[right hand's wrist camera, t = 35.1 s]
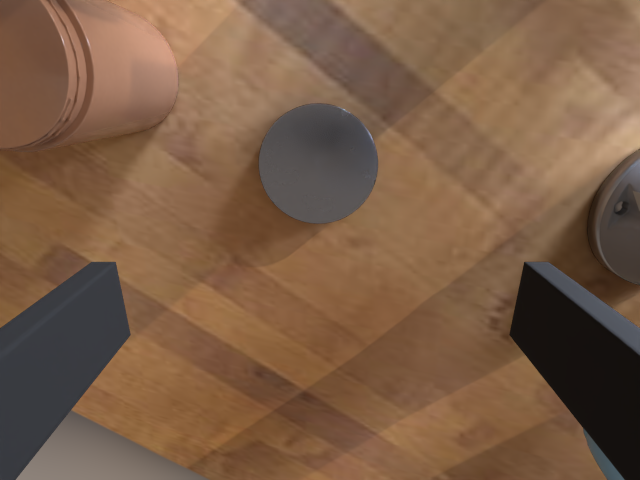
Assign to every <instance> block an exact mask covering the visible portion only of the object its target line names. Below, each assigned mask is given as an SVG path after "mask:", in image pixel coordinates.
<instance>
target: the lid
mask: <svg viewBox="0 0 640 480" xmlns="http://www.w3.org/2000/svg"><path fill="white" fill-rule="evenodd" d="M377 171H378V156H377V150H376V147H375V143H374V141H373V139H372V136H371V135H370V133H369V131H368V130H367V128H366V127H365V126H364V124H363V123H362V122H361V121H360V120H359V119H358V118H356V117H355V116H354V115H352V114H351V113H349V112H348V111H346V110H344V109H342V108H340V107H337V106H334V105H330V104H322V103H315V104H307V105H303V106H300V107H297V108H295V109H293V110H291V111H289V112H287V113H286V114H284V115H283V116H281V117H280V118H279V119H278V120H277V121H276V122H275V123H274V124H273V125H272V127H271V128H270V129H269V131H268V132H267V134H266V136H265V138H264V140H263V142H262V146H261V149H260V154H259V174H260V178H261V182H262V184H263V187H264V189H265V191H266V193H267V195H268V196H269V198H270V199H271V201H272V202H273V203H274V204H275V205H276V206H277V207H278V208H279V209H280V210H281V211H283V212H284V213H285V214H287V215H289V216H290V217H292V218H295V219H297V220H300V221H303V222H308V223H316V224H319V223H329V222H334V221H337V220H340V219H342V218H344V217H347V216H348V215H350V214H351V213H353V212H354V211H355V210H357V209H358V208H359V207H360V206H361V205H362V204H363V203H364V202H365V200H366V199H367V198H368V196H369V194H370V193H371V191H372V189H373V186H374V184H375V181H376V177H377Z"/></svg>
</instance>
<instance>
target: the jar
mask: <svg viewBox="0 0 640 480" xmlns="http://www.w3.org/2000/svg"><path fill="white" fill-rule="evenodd" d="M178 85H179V77H178V69H177V65H176V61H175V58H174V55H173V52H172V50H171V48H170V46H169V44H168V43H167V41H166V40H165V38H164V37H163V36H162V34H161V33H160V32H159V31H158V30H157V29H156V28H155V27H154V26H153V25H152V24H151V23H150V22H149V21H147V20H146V19H145V18H143V17H141V16H140V15H138V14H136V13H134V12H131V11H129V10H127V9H125V8H123V7H120V6H118V5H116V4H114V3H112V2H109V1H107V0H0V150H8V151H17V152H36V151H43V150H48V149H53V148H58V147H63V146H69V145H74V144H79V143H84V142H89V141H94V140H99V139H105V138H110V137H115V136H120V135H125V134H130V133H135V132H140V131H144V130H148V129H150V128H152V127H154V126H156V125H157V124H159V123H160V122H161V121H162V120H163V119H165V117H166V116H167V115H168V114H169V112H170V111H171V109H172V107H173V105H174V103H175V100H176V97H177V93H178Z"/></svg>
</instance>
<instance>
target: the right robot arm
mask: <svg viewBox="0 0 640 480" xmlns="http://www.w3.org/2000/svg"><path fill="white" fill-rule="evenodd" d="M587 228H588V239H589V243H590V247H591V249H592V251H593V253H594V255H595V257H596V258H597V259H598V261H599V262H600V263H601V264H602V265H603V266H604V267H605V268H607V269H608V270H610V271H611V272H613V273H615V274H616V275H618V276H620V277H621V278H623V279H625V280H627V281H629V282H631V283H634V284H638V285H640V149H639V150H637V151H636V152H634V153H633V154H631V155H630V156H629V157H627V158H626V159H625V160H624V161H623V162H621V163H620V164H619V165H618V166H617V167H616V168H615V169H614V170H613V171H612V172H611V173H610V175H609V176H608V177H607V178H606V180H605V181H604V183H603V184H602V185H601V187H600V189H599V190H598V192H597V194H596V196H595V198H594V201H593V203H592V206H591V209H590V213H589V218H588V227H587ZM129 336H130V330H129V325H128V320H127V315H126V310H125V305H124V301H123V296H122V291H121V286H120V281H119V276H118V271H117V266H116V262H91V263H90V264H88V265H87V266H86V267H84V268H83V269H81V270H80V271H79V272H77V273H76V274H74V275H73V276H72V277H70V278H69V279H68V280H66V281H65V282H63V283H62V284H61V285H59V286H58V287H57V288H55V289H54V290H52V291H51V292H50V293H48V294H47V295H46V296H44V297H43V298H41V299H40V300H39V301H37V302H36V303H34V304H33V305H32V306H30V307H29V308H28V309H26V310H25V311H23V312H22V313H21V314H19V315H18V316H17V317H15V318H14V319H12V320H11V321H10V322H8V323H7V324H5V325H4V326H3V327H1V328H0V480H16V478H17V477H18V476H19V475H20V473H21V472H22V471H23V470H24V468H25V467H26V466H27V465H28V463H29V462H30V461H31V460H32V458H33V457H34V456H35V454H36V453H37V452H38V451H39V449H40V448H41V447H42V446H43V444H44V443H45V442H46V441H47V439H48V438H49V437H50V436H51V434H52V433H53V432H54V431H55V429H56V428H57V427H58V425H59V424H60V423H61V422H62V420H63V419H64V418H65V417H66V415H67V414H68V413H69V412H70V410H71V409H72V408H73V407H74V405H75V404H76V403H77V402H78V400H79V399H80V398H81V397H82V395H83V394H84V393H85V392H86V390H87V389H88V388H89V387H90V385H91V384H92V383H93V382H94V380H95V379H96V378H97V376H98V375H99V374H100V373H101V371H102V370H103V369H104V368H105V366H106V365H107V364H108V363H109V361H110V360H111V359H112V358H113V356H114V355H115V354H116V353H117V351H118V350H119V349H120V348H121V346H122V345H123V344H124V343H125V341H126V340H127V339H128V337H129ZM510 336H511V337H512V339H513V340H514V341H515V343H516V344H517V345H518V346H519V348H520V349H521V350H522V351H523V353H524V354H525V355H526V356H527V358H528V359H529V360H530V361H531V363H532V364H533V365H534V366H535V368H536V369H537V370H538V371H539V373H540V374H541V375H542V376H543V378H544V379H545V380H546V382H547V383H548V384H549V385H550V387H551V388H552V389H553V390H554V392H555V393H556V394H557V395H558V397H559V398H560V399H561V400H562V402H563V403H564V404H565V405H566V407H567V408H568V409H569V410H570V412H571V413H572V414H573V415H574V417H575V418H576V419H577V421H578V422H579V423H580V424H581V426H582V427H583V430H584V435H585V437H586V439H587V443H588V446H589V449H590V451H591V453H592V455H593V457H594V459H595V460H596V462H597V464H598V465H599V467H600V469H601V470H602V472H603V474H604V475H605V477H606V478H607V480H640V328H639V327H637V326H636V325H635V324H633V323H632V322H630V321H629V320H628V319H626V318H625V317H623V316H622V315H621V314H619V313H618V312H617V311H615V310H614V309H612V308H611V307H610V306H608V305H607V304H606V303H604V302H603V301H601V300H600V299H599V298H597V297H596V296H594V295H593V294H592V293H590V292H589V291H588V290H586V289H585V288H583V287H582V286H581V285H579V284H578V283H577V282H575V281H574V280H572V279H571V278H570V277H568V276H567V275H566V274H564V273H563V272H561V271H560V270H559V269H557V268H556V267H554V266H553V265H552V264H550V263H549V262H524V266H523V271H522V276H521V281H520V286H519V291H518V296H517V301H516V305H515V310H514V315H513V320H512V325H511V330H510Z"/></svg>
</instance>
